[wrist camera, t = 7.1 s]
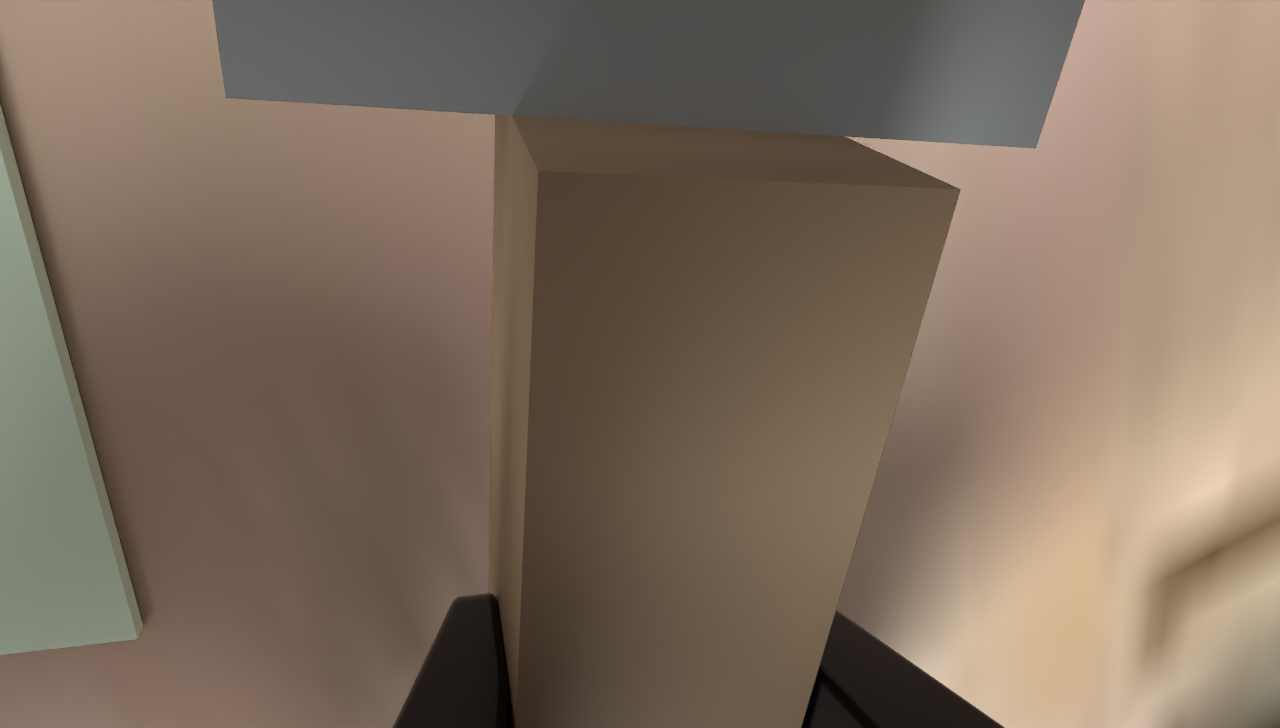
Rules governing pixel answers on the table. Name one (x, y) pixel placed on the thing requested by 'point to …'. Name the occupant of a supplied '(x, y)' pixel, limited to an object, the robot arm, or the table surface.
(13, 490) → the mat
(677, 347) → the turner
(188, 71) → the table surface
